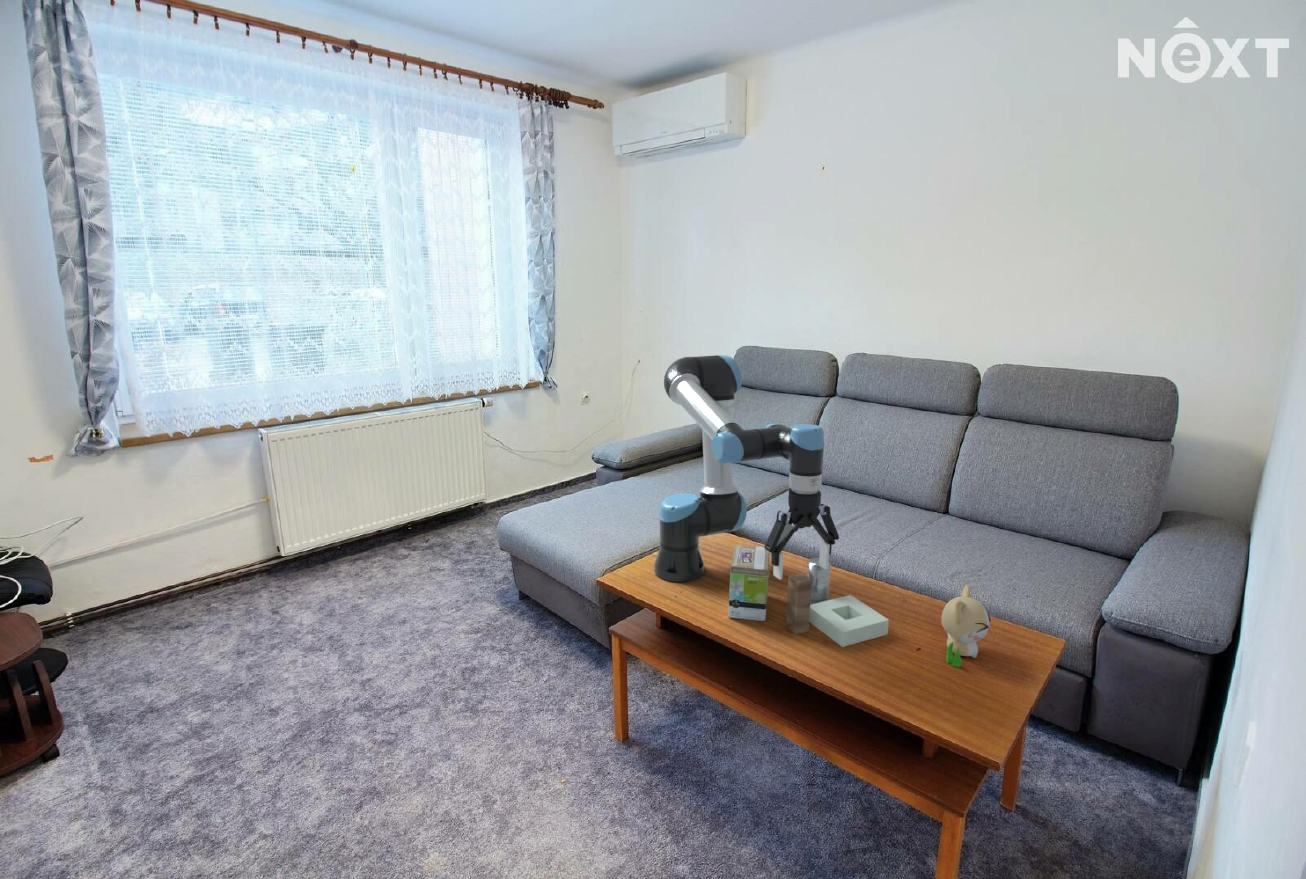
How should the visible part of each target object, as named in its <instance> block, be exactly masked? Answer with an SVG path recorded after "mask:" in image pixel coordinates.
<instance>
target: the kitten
mask: <svg viewBox="0 0 1306 879" xmlns="http://www.w3.org/2000/svg"><path fill="white" fill-rule="evenodd" d="M970 593H971V587H970V585H969V584H966V585H965V586H964V588H963V590H962V591H961V594H960V596H956V597H954V598H951V599H950V600H949V601H948V602H947V603H946V605H945V606H944V608H943V609H942V612H941V613H942V614H941V625H942V627H943V629H944V631H945V632H946V633H947V640H946V647H947V650H946V657H945V658H946V660H945V661H946V663H950V664H951V665H950V666H951V667H957V668H960V667H961V666H962V658H961V656H962V657H972V658H973V659H975V658H977V657H978V653H979V647H978V643H977V642H978V641H980V640H982V639H984V638H985V637H986V635H987V634H988V631H989V629H990V623H991V622H992V620H991V617H990V615H989V613H988V611H987V609H986V608H985V606H984V605H983V604H982V603H981V602H980V601H979V600H977V599H975V598H973V597H970ZM953 654H954V655H953Z"/></svg>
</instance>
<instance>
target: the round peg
mask: <svg viewBox="0 0 1306 879" xmlns="http://www.w3.org/2000/svg"><path fill="white" fill-rule="evenodd" d="M807 564H808V565H807V577H808V578H809V579H811V580H812V584H811V601H810V605H811V604H815V603H819V602H823V601H827V600H829V595H830V594H829V593H830V580H831V579H830V578H831V568H832V566H831V561H830V560H829V566H828V569H824V568H822V567H821V566H819V557H812V558H809V559H808V562H807Z"/></svg>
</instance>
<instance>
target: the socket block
mask: <svg viewBox="0 0 1306 879" xmlns="http://www.w3.org/2000/svg"><path fill="white" fill-rule="evenodd" d="M889 622H890V619H889V618H887V617H886V616H883V614H880V613H879V612H877V611H876V610H874V609H873V608H871V607H870V606H868V605H866V604H865V603H864V602H862V601H860V600H859V599H858V598H856V597H854V596H853V595H852V594H848V595H844V596H840V597H836V598H832V599H828V600H827V601H823V602H819V603H815V604H811V605H810V618H809V624H811V625H813V626H815V627H816V628H817V629H818V630H819V631H821V633H823V634H824V635H826V636H828V638H829V639H831V640H832V641H833V642H835V643H836V644H838V645H839V646H840V647H841V648H844V647H847V646H851V645H855V644H858V643H861V642H862V643H863V642H865V641H870V640H873V639H876V638H880V637H884V636H888V635H889Z"/></svg>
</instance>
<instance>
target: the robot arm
mask: <svg viewBox="0 0 1306 879" xmlns="http://www.w3.org/2000/svg"><path fill="white" fill-rule="evenodd" d="M742 378H743V377H742V372H741V369H740V366H739V364H738V363H737V362H736V360H735V359H734V358H733V357H732V356H730V355H722V354H721V355H720V354H719V355H718V354H715V355H704V356H702V355H701V356H684V357H681V358H679V359H676V360H675V361H673V362H672V363H671V364H670V365H669V367H667V369H666V371H665V375H664V377H663V386H664V387H663V388H664V391H665V393H666V395H667V396H668V398H669V399H670V400H671V401H672V402H673V403H675V404H676V405H680V406H681V407H682V408H683V409H684V410H685V411H686V412H687V413H688V415H689V416H690V417H691V418H692V419H693V420H694V421H695V423H696V424H698V426H699V427H700V429H701V430H702V432H701V433H702V454H703V457H702V458H703V477H704V485H703V486H702V487H701V488H700V490H699V491H700V492H699V497H698V495H696V494H694V493H685V492H683V493H682V492H681V493H676V494H672V495H669V496H668V497H665V498H664V499H663V501H661V504H660V507H659V515H658V516H659V549H658V553H657V554H656V557H655V558H656V559H655V561H654V565H653V567H654V574H655V575H656V576H657V577H658V578H660V579H662V580H666V581H669V582H678V583H681V582H684V583H685V582H691V581H694V580H697V579H700V578H701V577H702V576H703V575H704V572H705V564H704V561H703V557H702V553H701V551H700V549H699V548H700V546H699V539H700V538H701V537H707V536H708V537H709V536H712V535H719V534H728V533H731V532H735V531H737V530H739V529H741V528H742V527H743V525H744V524H745V522H746V519H747V513H748V511H747V510H748V508H747V503H746V499H745V497H744V496H743V494H741V493H740V492H739V488H738V487H737V486H735V484H734V483H733V482H734V479H733V464H736V463H742V462H750V461H756V460H758V461H759V460H765V459H772V458H773V459H774V458H781V459H785V460H787V461H789V475H788V487H789V490H788V497H787V498H788V499H787V500H788V501H787V502H788V506H789V508H788V511H787V512H786V511H781V510H779V511H777V514H776V520H775V522H774V524H773V527H772V529H771V531H770V534H769V536H768V537H767V539H766V542H765V544H764V546H763V547H764V548H765V549H766V550H767V551H769V552H770V554H771V559H770V560H771V561H770V562H771V565H773V569H772V570H773V572H772V573H773V574H772V575H773V576H774V577H775V578H776V579H778V580H783V573H784V572H783V568H784V552H782V551H783V550H784V548H785V547H786V546H787V545H788V542H789V541H790V539H791V538H792V536H793V535H794V534H795V533H797V532H798V531H799V529H805V528H811V527H813V529H814V530H815V531H816V533H817V534H818V535H819V536H820V537H821V538H822V540H820V542H819V557H818V558H819V566H821V567H822V568H824V569H828V566H829V561H830V555H831V554H832V548H833V547H832V545H833V546H834V545H835V544H836V541H838V540H839V539H840V536H839V532H838V530H837V528H836V525H835V522H834V521H833V518H832V516H831V507H830V506H828V505H826V504H824V503H821V502H822V500H821V499H822V492H821V491H820V490H821V489H822V484H823V483H822V480H823V464H824V463H823V462H824V449H825V448H824V447H825V438H824V436H825V434H824V432H825V431H824V428H823V427H822V426H820V425H818V424H811V423H800V424H794V425H793V426H792V427H791V428H790V427H788V426H786V425H784V424H780V423H769V424H767V425H765V426H764V427H761V428H753V429H744V428H743V427H742V426H740V425H739V424H738V423H737V421H736V420H735V419H733V418H732V416H731V410H730V408H731V405H732V404H733V402H734V401H735V394H737V393H738V392H740V390H741V387H742V383H743V382H742V381H743V379H742ZM819 515H820V517H821V520H822V522H823V524H824V526H825V528H824V526H823V525H822V523H821V521H820V520H819V519H818V517H819Z"/></svg>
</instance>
